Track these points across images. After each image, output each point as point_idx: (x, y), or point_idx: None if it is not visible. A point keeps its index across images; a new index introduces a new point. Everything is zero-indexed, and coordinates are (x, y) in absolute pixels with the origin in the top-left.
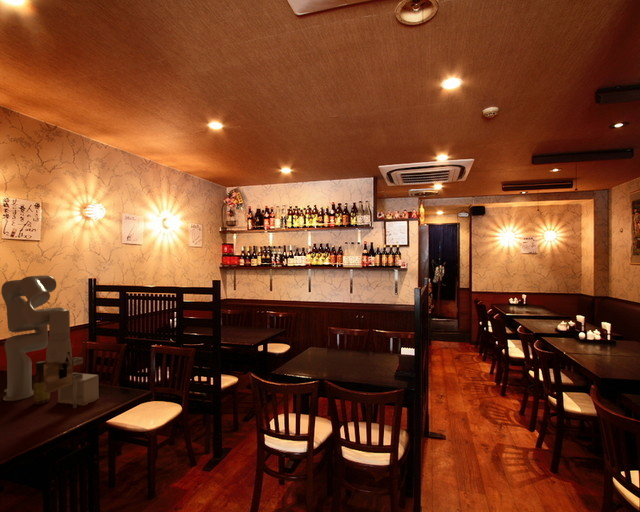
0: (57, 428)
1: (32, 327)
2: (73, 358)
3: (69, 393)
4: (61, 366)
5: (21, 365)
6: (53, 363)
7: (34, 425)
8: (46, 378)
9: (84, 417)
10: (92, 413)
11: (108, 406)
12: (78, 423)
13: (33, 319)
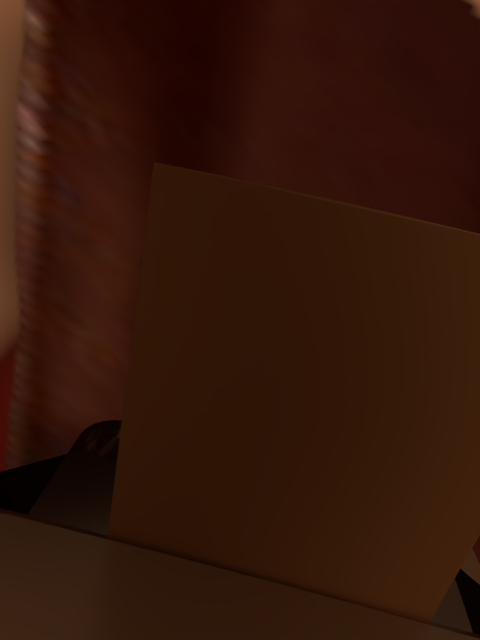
0: (124, 70)
1: None
2: None
3: None
4: (80, 478)
5: None
6: (170, 472)
7: (319, 107)
8: (313, 195)
9: (85, 236)
10: (83, 290)
11: (69, 379)
12: (52, 151)
13: None
